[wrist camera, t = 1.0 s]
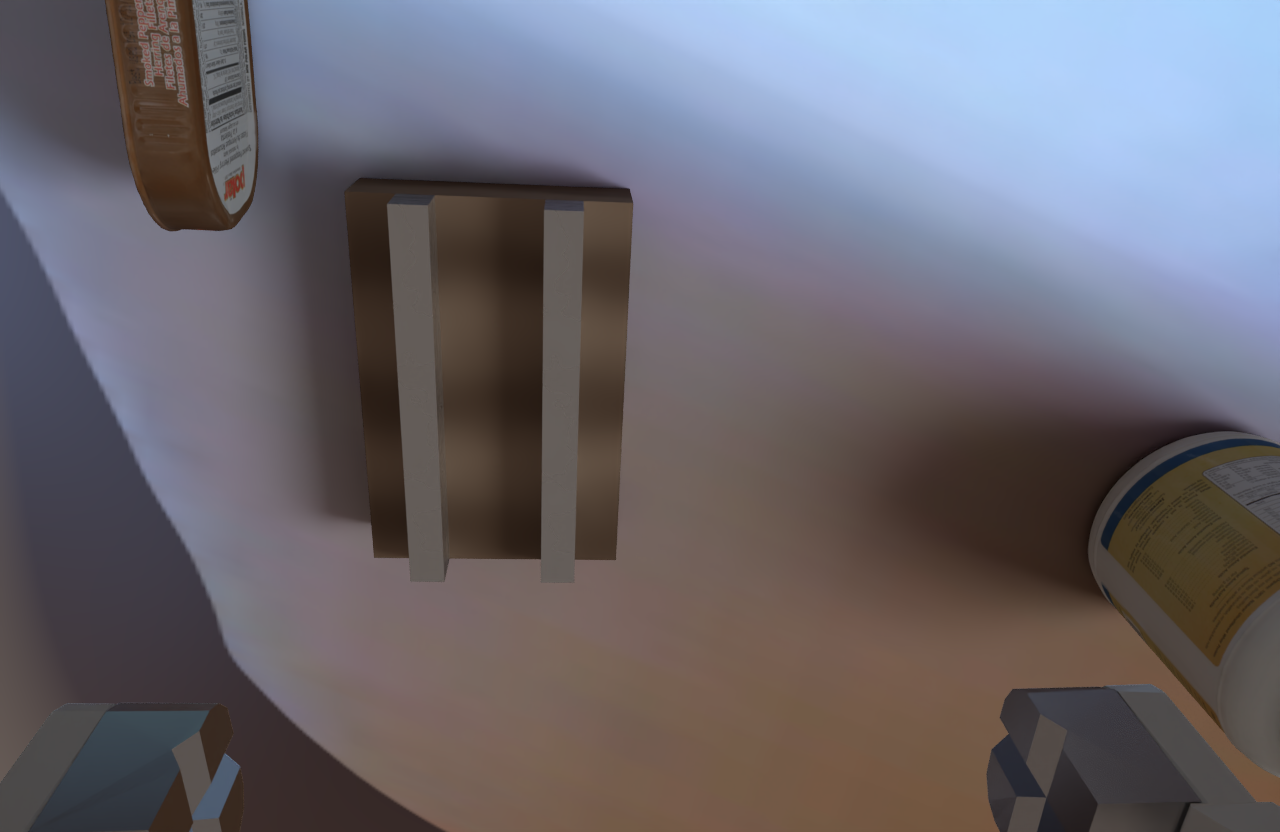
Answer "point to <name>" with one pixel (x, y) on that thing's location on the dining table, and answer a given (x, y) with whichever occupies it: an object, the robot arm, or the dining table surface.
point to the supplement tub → (1203, 575)
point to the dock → (491, 368)
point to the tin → (187, 108)
